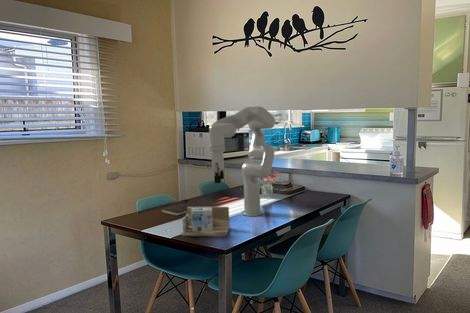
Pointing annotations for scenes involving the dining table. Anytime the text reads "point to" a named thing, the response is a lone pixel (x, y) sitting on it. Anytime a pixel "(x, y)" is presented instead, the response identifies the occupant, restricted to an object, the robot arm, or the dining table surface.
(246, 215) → the robot arm
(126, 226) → the dining table surface
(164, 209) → the hardcover book
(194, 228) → the light bulb box
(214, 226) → the shelf
